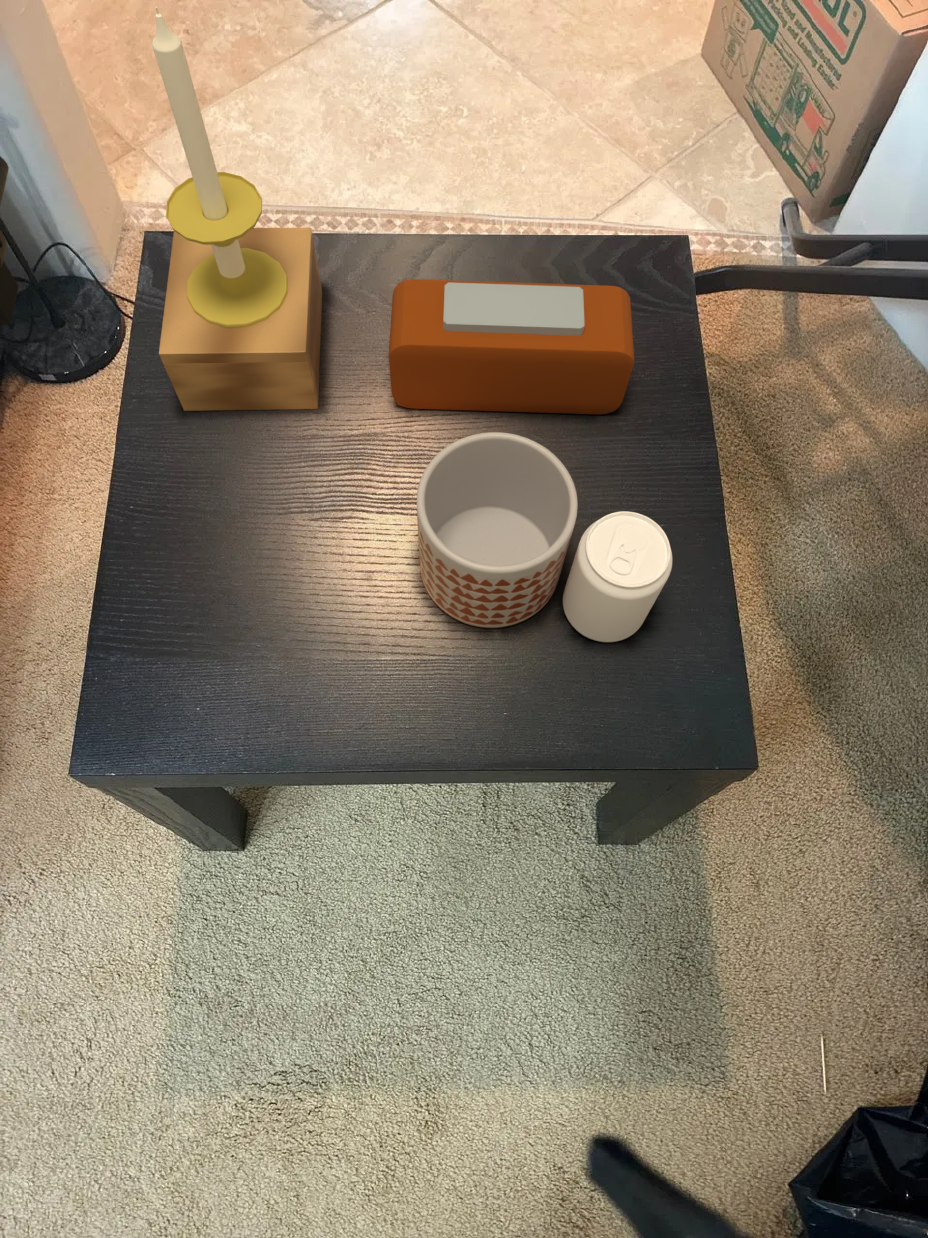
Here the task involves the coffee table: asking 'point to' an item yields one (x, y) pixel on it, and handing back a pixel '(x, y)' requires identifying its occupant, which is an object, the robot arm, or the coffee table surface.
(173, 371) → the lidded tan carton
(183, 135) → the candle
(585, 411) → the alarm clock
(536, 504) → the planter
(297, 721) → the coffee table surface
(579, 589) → the beverage can
